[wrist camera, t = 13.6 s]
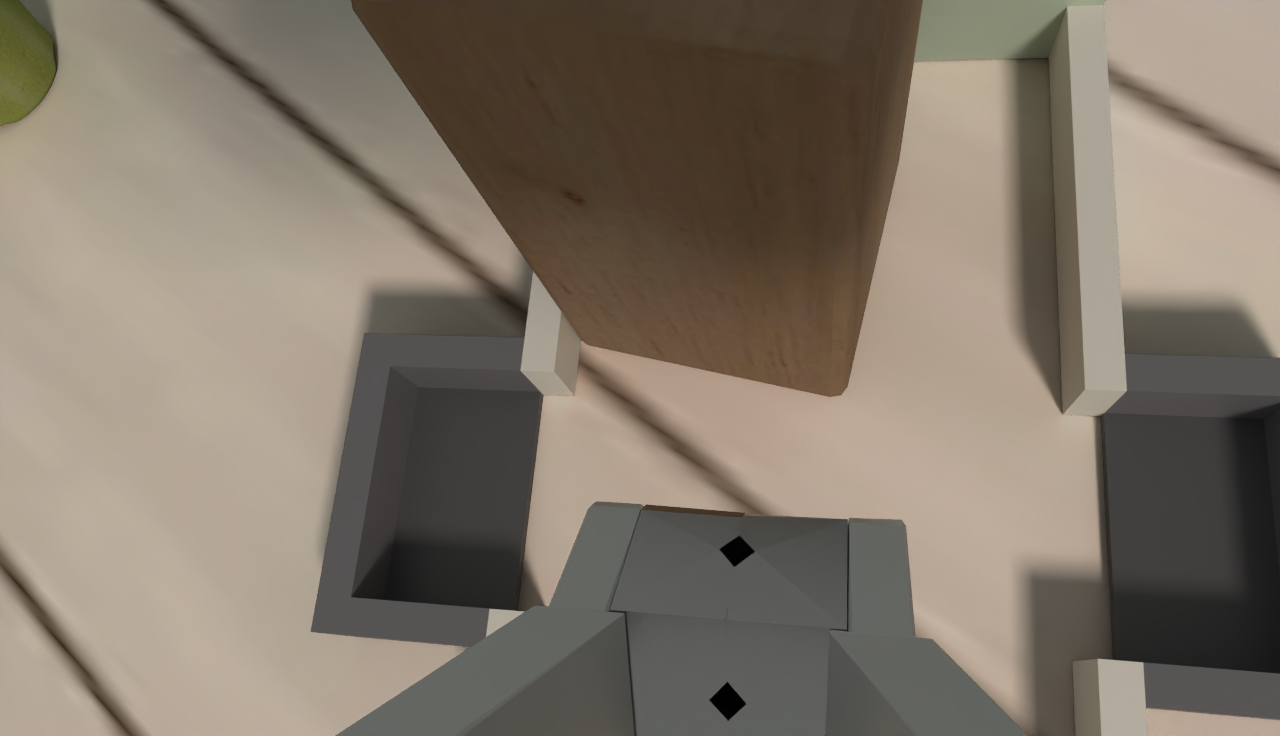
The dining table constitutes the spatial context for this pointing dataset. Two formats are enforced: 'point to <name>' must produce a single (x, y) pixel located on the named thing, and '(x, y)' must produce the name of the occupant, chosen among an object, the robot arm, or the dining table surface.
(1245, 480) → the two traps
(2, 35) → the plant pot
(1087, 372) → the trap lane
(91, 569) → the dining table surface
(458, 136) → the wooden block
